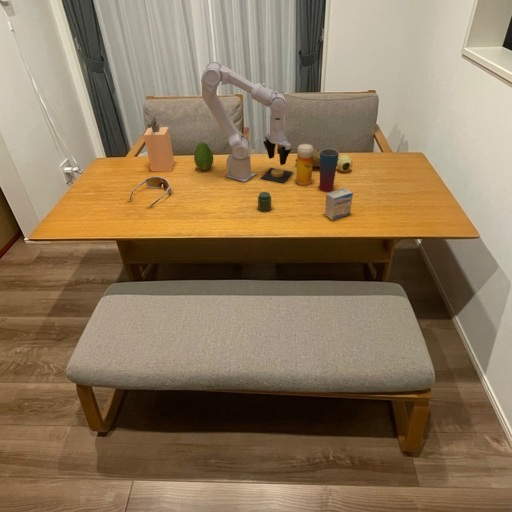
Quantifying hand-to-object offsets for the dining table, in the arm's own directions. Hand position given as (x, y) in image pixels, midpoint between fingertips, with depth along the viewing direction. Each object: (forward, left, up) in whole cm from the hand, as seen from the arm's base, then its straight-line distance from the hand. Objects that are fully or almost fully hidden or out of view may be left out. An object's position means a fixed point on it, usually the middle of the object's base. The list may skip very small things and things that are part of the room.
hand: (277, 161), depth 156 cm
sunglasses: (-32, -40, -7) cm, 52 cm away
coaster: (0, 0, -7) cm, 7 cm away
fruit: (-30, -11, -7) cm, 33 cm away
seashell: (+8, +16, -7) cm, 19 cm away
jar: (+10, -24, -7) cm, 27 cm away
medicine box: (+34, -14, -7) cm, 37 cm away
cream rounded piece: (+21, +19, -7) cm, 29 cm away
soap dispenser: (-46, -21, -7) cm, 51 cm away
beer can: (+12, +1, -7) cm, 14 cm away
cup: (+22, +1, -7) cm, 23 cm away
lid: (0, 0, -5) cm, 5 cm away
